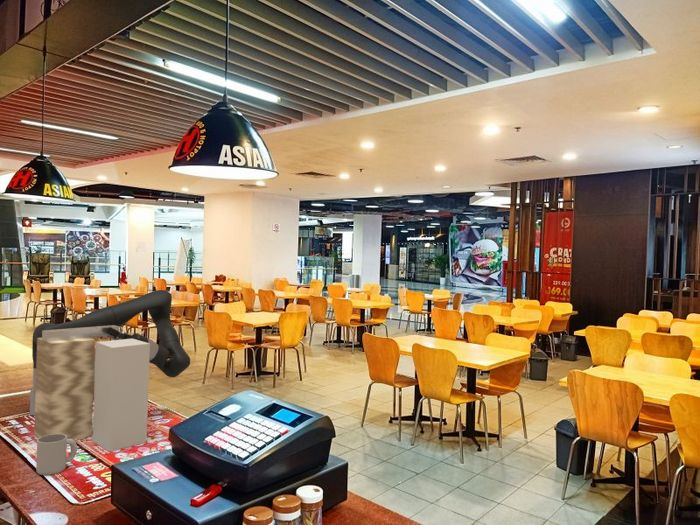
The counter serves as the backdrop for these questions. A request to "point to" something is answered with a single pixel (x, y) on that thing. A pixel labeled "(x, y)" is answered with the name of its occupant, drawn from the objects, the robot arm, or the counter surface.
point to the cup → (53, 453)
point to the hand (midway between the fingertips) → (102, 328)
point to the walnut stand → (64, 388)
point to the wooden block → (76, 333)
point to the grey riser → (121, 393)
